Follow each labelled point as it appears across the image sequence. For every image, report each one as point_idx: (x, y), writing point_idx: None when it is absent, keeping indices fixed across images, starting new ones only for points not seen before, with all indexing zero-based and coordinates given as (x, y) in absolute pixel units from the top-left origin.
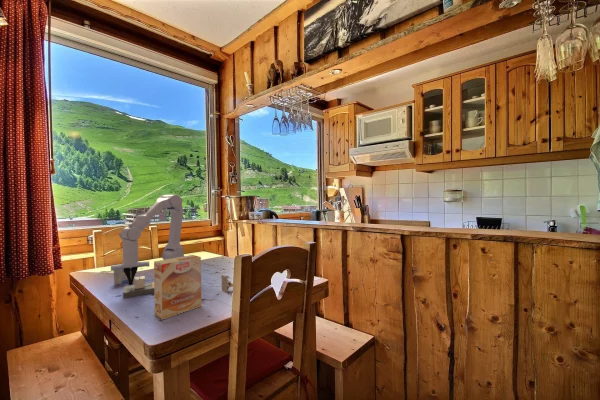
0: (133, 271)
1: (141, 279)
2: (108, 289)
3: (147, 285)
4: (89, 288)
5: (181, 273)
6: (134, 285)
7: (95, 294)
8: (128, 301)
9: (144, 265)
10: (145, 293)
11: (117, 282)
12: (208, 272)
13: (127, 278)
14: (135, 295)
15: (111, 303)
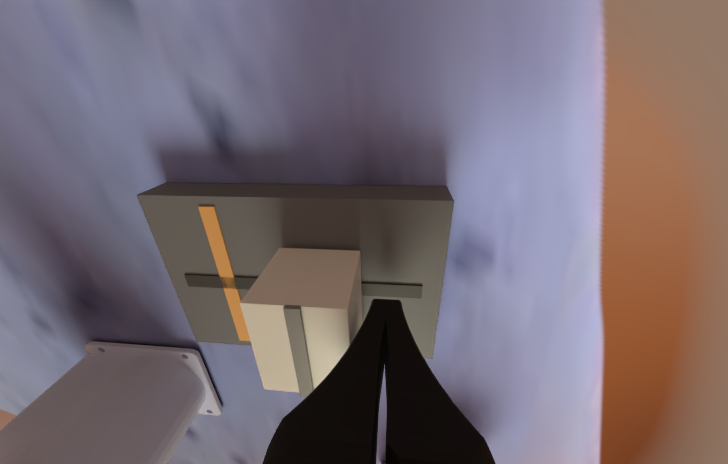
0: (333, 423)
1: (275, 301)
2: (512, 402)
3: None
4: (595, 460)
5: None
6: (355, 268)
7: (598, 361)
8: (409, 43)
9: None
10: (283, 185)
11: None
12: (8, 386)
13: (421, 354)
14: (356, 185)
15: (553, 73)
